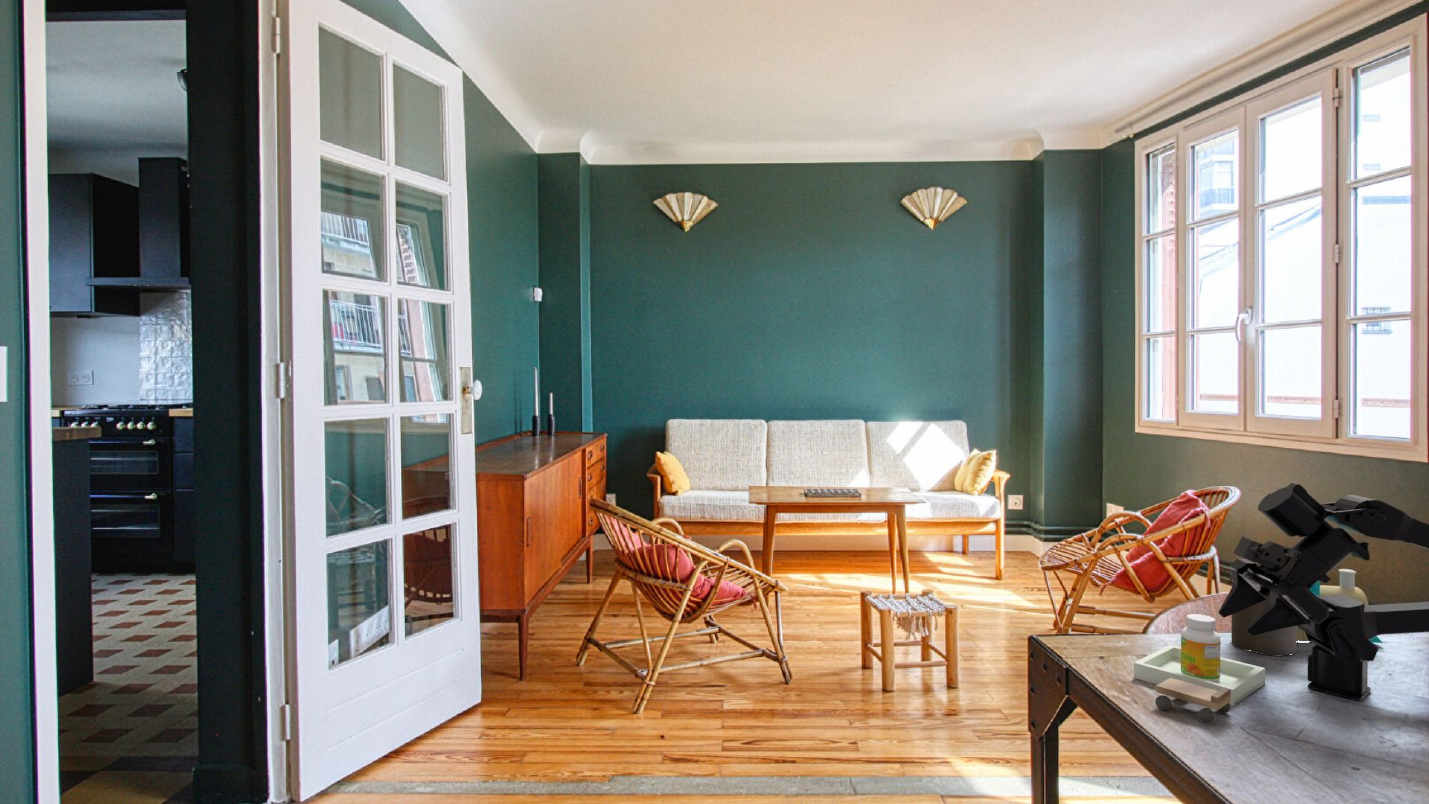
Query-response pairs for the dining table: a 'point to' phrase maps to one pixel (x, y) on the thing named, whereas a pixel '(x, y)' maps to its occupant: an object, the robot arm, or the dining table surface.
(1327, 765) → the dining table surface
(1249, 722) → the dining table surface
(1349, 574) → the toy train
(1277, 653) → the pillar candle
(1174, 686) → the cart
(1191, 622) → the supplement bottle
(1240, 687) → the tray
